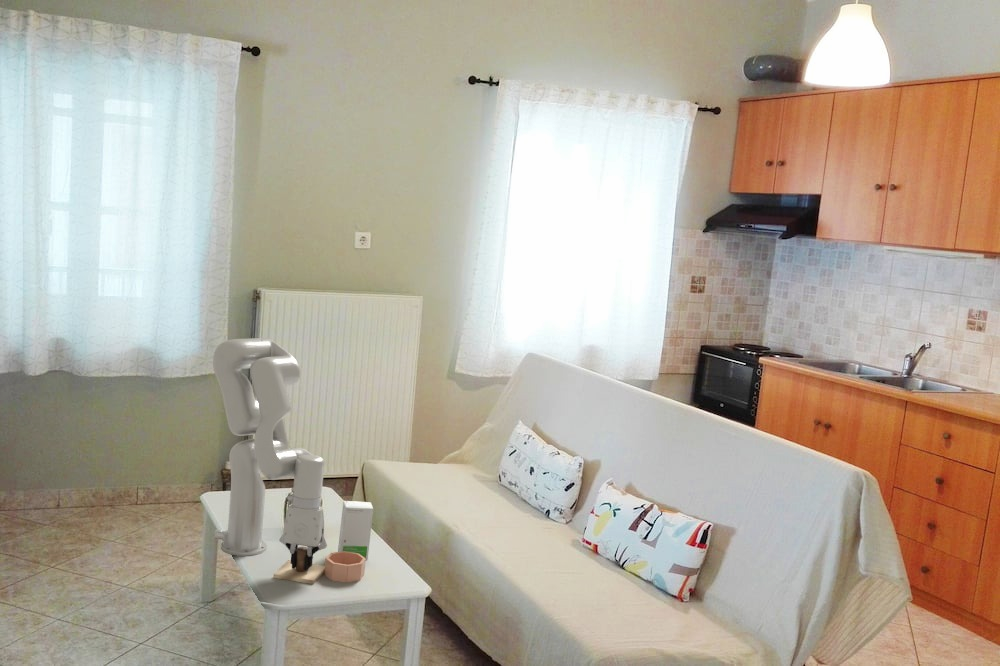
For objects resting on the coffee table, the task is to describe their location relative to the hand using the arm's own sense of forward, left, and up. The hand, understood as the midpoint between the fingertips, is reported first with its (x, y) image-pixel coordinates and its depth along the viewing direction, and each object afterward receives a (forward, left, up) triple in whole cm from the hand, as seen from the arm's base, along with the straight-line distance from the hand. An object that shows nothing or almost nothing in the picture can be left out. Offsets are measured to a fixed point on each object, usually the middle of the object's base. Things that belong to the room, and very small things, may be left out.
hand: (301, 567), depth 257 cm
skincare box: (+9, +19, -2) cm, 21 cm away
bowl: (+11, +4, -2) cm, 12 cm away
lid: (0, 0, -2) cm, 2 cm away
